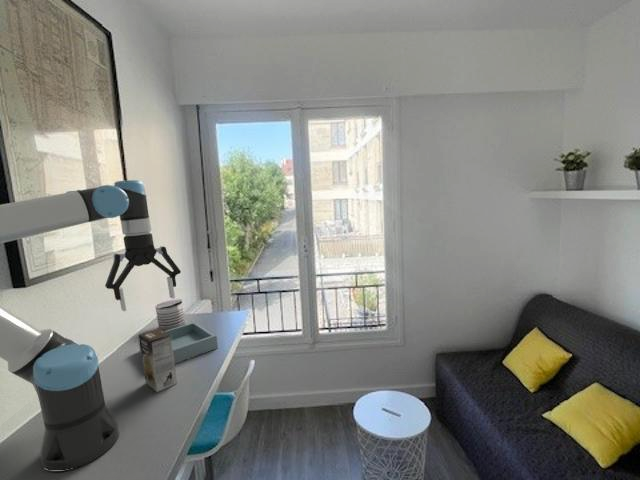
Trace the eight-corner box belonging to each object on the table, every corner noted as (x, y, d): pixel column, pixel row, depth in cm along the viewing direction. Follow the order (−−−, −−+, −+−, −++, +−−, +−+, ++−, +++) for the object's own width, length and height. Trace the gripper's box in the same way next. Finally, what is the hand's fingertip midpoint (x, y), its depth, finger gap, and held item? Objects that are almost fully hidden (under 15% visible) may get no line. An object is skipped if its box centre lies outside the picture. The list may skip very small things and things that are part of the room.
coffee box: (144, 383, 108) (137, 334, 106) (165, 374, 113) (158, 327, 111) (156, 393, 102) (149, 341, 100) (177, 383, 107) (171, 333, 105)
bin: (155, 371, 116) (153, 357, 115) (139, 351, 133) (137, 339, 132) (217, 348, 130) (216, 335, 129) (196, 333, 147) (194, 321, 146)
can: (168, 334, 148) (164, 307, 146) (153, 330, 154) (149, 304, 152) (191, 324, 157) (187, 299, 156) (175, 321, 163) (172, 297, 162)
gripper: (177, 227, 112) (186, 291, 115) (85, 240, 96) (99, 312, 99) (184, 228, 106) (194, 295, 109) (88, 241, 90) (103, 318, 93)
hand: (149, 303), depth 104 cm, fingers open, 13 cm apart
